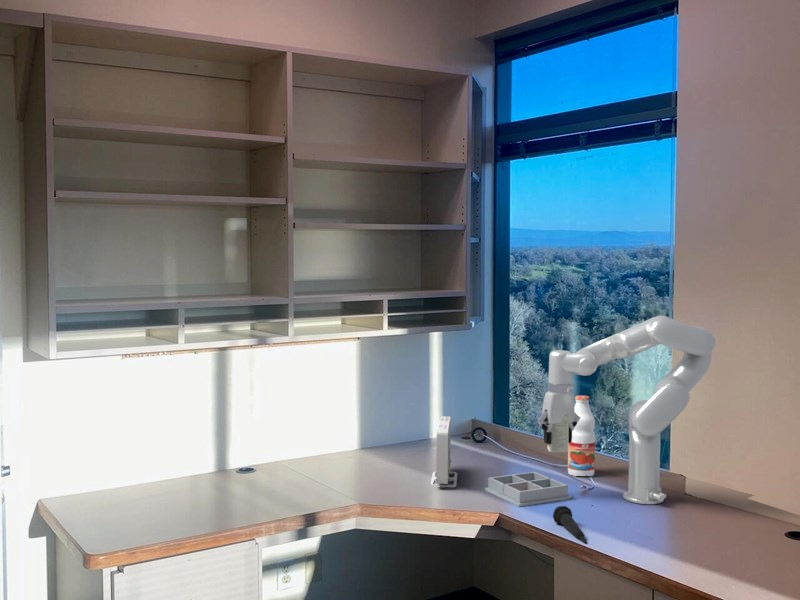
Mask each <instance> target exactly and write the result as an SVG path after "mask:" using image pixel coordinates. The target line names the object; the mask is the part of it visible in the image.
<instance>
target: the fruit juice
mask: <svg viewBox="0 0 800 600" xmlns="http://www.w3.org/2000/svg"><path fill="white" fill-rule="evenodd" d="M574 402H575V403H574V407H575V413H576V414H577V415H578V416H579V417H580V420H579V421H578V423H577V425H576V426H575V427H574V430H572V442H571V443H569V444H568V452H567V473H568V475H569V476H572V475H573V477H576V476H586V474H585V473H587V474H588V475H590V476H591V477H594V476H595V469H596V467H595V466H596V461H595V460H596V434H595V433H596V432H595V431H594V428H595V426H596V425H595V424H596V419H595V416H594V414H593V413H592V410H591V406H590V404H589V403H590V396H588V395H576V396H575V397H574Z"/></svg>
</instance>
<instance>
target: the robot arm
mask: <svg viewBox="0 0 800 600" xmlns="http://www.w3.org/2000/svg"><path fill="white" fill-rule="evenodd" d="M658 345H662V346H665V347H667V348H670V349H674V350H677V351H680V352H683V356H682V357H681V359H680V360H679V361H678V362H677V363H676V365H675V366H673V367H672V369H671V370H670V371H669V372H668V373H667V374H666V375H665V376H663V377H662V378H661V379H660V380H659V381H658V382H657V383H656V384H655V387H654V390H653V391H654V394H653V395H652V396H651V397H650V398H649V399H648V400H639V401H636V402H635V403H634V404H633V405H632V406H631V408H630V410H629V412H628V429H629V431H628V432H629V436H628V437H629V441H628V442H629V443H628V444H629V445H628V446H629V450H628V487H627V488H628V489H627V491H624V492H623V495H622V497H623V499H624V500H626V501H628V502H631V503H635V504H641V505H656V504H661V503H663V502H665V499H666V498H667V494H666V493H663V492H662V487H660V475H661V473H660V468H661V467H660V465H661V461H660V460H661V432H662V431H665V429H666V428H667V427H668V426H669V425H670V424H671V423H672V422H673V421H674V420H675V419H676V418H677V417H678V416H679V415H680V414H681V413H682V412H684V410H685V409H686V407H687V406H688V404H689V402H690V397H691V396H690V392H691V391H692V390H693V389H694V388H695V386H696V385H698V383H699V382H700V381H701V380H702V379H703V377H705V375H706V374H707V373H708V370H709V368H710V366H711V363H712V355H713V353H712V352H713V351H714V349H715V347H716V338H715V336H714V334H713V333H712V332H711V331H710V330H708V329H706V328H704V327H701V326H698V325H696V326H695V325H691V324H688V323H684V322H681V321H679V320H676V319H673V318H671V317H668V316H666V315H657V316H656V315H655V316H654V317H651V318H649V319H647V320H644V321H642V322H640V323H638V324H635V325H633V326H631V327H629V328H627V329H625V330H622V331H619V332H618V333H615V334H613V335H611V336H608V337H606V338H604V339H601V340H598V341H597V342H593V343H592V344H590V345H586V346H585V347H583V348H581V349H578V351H576V352H571V351H569V350H563V349H559V350H558V349H557V350H556V349H555V350H551V351H550V352H549V355H548V356H549V359H548V384H547V386H548V387H547V391H546V392H545V393H544V394H545V395H544V397H543V403H542V411H541V414H540V416H539V417H538V418H537V419H536V422H537V423H538V425H539V426H540V428H541V430H542V431H543V443H544V444H547V445H548V444H551V439H552V433H551V432H550V430H551V428H552V426H553V424H559V423H561V421H562V419H563V416H564V415H569V443H571V442H572V430H574V427H575V426H576V425H577V423H578V421H579V420H580V417H579V416H578V415H577V414H576V413H575V397H574V394H573V392H572V391H573V389H574V388H575V384H573V374H574V375H578V376H585V377H586V376H591V375H592V374H594V373H595V372H596V371H597V368H598V367H599V366H601V365H603V364H606V363H609V362H611V361H614V360H618V359H628V358H632V357H634V356H637V355H638V354H641V353H642V352H644V351H647V350H649V349H652V348H654V347H657V346H658Z"/></svg>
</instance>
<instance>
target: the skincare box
mask: <svg viewBox="0 0 800 600" xmlns="http://www.w3.org/2000/svg"><path fill="white" fill-rule="evenodd" d="M550 432H551V433H552V439H551V444H547V450H548V452H550V453H568V444H569V415H564V416H563V419H562V421H561V423H559V424H553V426H552V428H551V430H550Z"/></svg>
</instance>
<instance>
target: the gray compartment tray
mask: <svg viewBox="0 0 800 600" xmlns="http://www.w3.org/2000/svg"><path fill="white" fill-rule="evenodd" d="M487 481H488V483H487V484H488V485H487V487H484V490H485V492H488V493H490V494H492V495H494V496H495V497H498V498H500V499H502V500H504V501H506V502H507V503H511V504H512V505H514V506H515V507H526V506H533V505H541V504H546V503H552V502H558V501H565V500H567V501H568V500H571V499H572V496H571V495H569V493H568V492H569V491H568V489H569V486H568V484H566V483H563V482H560V481H558V480H557V479H554V478H551V477H548V476H546V475H543V474H541V473H539V472H536V471H531V472H524V473H515V474H508V475H506V474H505V475H500V476H492V477H488V479H487Z"/></svg>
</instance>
